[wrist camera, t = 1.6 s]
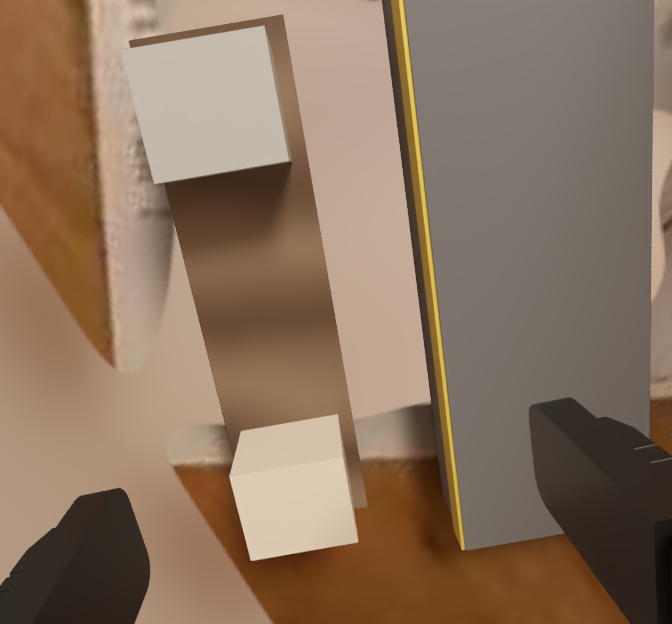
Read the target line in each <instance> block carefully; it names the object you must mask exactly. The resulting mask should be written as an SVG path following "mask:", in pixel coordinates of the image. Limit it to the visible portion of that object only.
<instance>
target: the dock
mask: <svg viewBox="0 0 672 624" xmlns="http://www.w3.org/2000/svg"><path fill="white" fill-rule="evenodd" d="M382 4H383V12H384V20H385V29H386V37H387V45H388V53H389V61H390V69H391V78H392V86H393V94H394V102H395V110H396V119H397V127H398V135H399V142H400V151H401V159H402V168H403V176H404V183H405V192H406V199H407V208H408V216H409V225H410V232H411V241H412V249H413V257H414V265H415V273H416V282H417V289H418V297H419V306H420V314H421V321H422V331H423V339H424V347H425V354H426V363H427V371H428V379H429V387H430V396H431V404H432V412H433V420H434V428H435V436H436V445H437V453H438V461H439V469H440V477H441V485H442V493H443V496H444V498H445V501H446V503H447V506H448V508H449V511H450V513H451V516H452V520H453V529H454V532H455V534H456V537H457V540H458V542H459V545H460V547H461V550H466V551H468V550H473V549H479V548H485V547H491V546H496V545H502V544H508V543H513V542H519V541H525V540H530V539H536V538H542V537H548V536H553V535H559V534H565V533H564V531H563V530H562V529H561V527H560V526H559V525H558V523H557V522H556V520H555V519H554V518H553V516H552V515H551V514H550V512H549V511H548V509H547V508H546V506H545V504H544V503H543V500H542V498H541V496H540V493H539V491H538V487H537V484H536V479H535V473H534V464H533V454H532V445H531V435H530V425H529V408H530V406H531V405H533V404H538V403H542V402H547V401H552V400H557V399H562V398H567V397H571V398H573V399H574V400H576V401H577V402H578V403H579V404H581V405H582V406H583V407H584V408H585V409H587V410H588V411H589V412H590V413H591V414H593V415H594V416H595V417H596V418H601V417H605V416H606V417H609V418H612V419H614V420H617V421H619V422H622V423H624V424H627V425H630V426H632V427H634V428H636V429H637V430H638V431H640V432H641V433H642V434H644V435H645V436H646V437H647V438H649V434H650V333H651V231H652V230H651V229H652V228H651V227H652V223H651V222H652V129H653V127H652V123H653V30H654V0H382Z"/></svg>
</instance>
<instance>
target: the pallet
mask: <svg viewBox="0 0 672 624" xmlns="http://www.w3.org/2000/svg"><path fill="white" fill-rule="evenodd" d="M258 26H265V30H266V33H267V36H268V39H269V42H270V46H271V49H272V53H273V58H274V64H275V69H276V75H277V80H278V86H279V92H280V97H281V103H282V108H283V114H284V119H285V125H286V130H287V136H288V141H289V147H290V152H291V158H292V162H288V163H282V164H276V165H270V166H264V167H259V168H253V169H247V170H241V171H235V172H229V173H224V174H218V175H212V176H206V177H200V178H194V179H188V180H183V181H175V182H167V183H165V187H166V191H167V195H168V199H169V203H170V207H171V211H172V215H173V219H174V223H175V227H176V231H177V235H178V239H179V243H180V246H181V250H182V254H183V258H184V262H185V266H186V270H187V274H188V278H189V282H190V286H191V290H192V294H193V298H194V302H195V306H196V310H197V314H198V318H199V322H200V326H201V330H202V334H203V338H204V342H205V346H206V350H207V354H208V358H209V362H210V366H211V370H212V374H213V378H214V382H215V386H216V390H217V394H218V398H219V402H220V406H221V410H222V414H223V418H224V422H225V426H226V430H227V434H228V438H229V442H230V446H231V450H232V454H233V458H234V457H235V453H236V449H237V445H238V441H239V437H240V433H241V431H244V430H250V429H256V428H261V427H267V426H273V425H279V424H284V423H290V422H296V421H302V420H307V419H313V418H319V417H325V416H331V415H336V414H338V418H339V423H340V429H341V434H342V440H343V446H344V451H345V457H346V462H347V468H348V473H349V479H350V484H351V490H352V497H353V505H354V509H358V508H364V507H368V505H367V499H366V493H365V488H364V482H363V476H362V470H361V464H360V459H359V453H358V447H357V441H356V435H355V430H354V424H353V418H352V412H351V407H350V401H349V395H348V389H347V383H346V377H345V372H344V366H343V360H342V354H341V348H340V343H339V337H338V331H337V325H336V319H335V313H334V308H333V302H332V296H331V290H330V285H329V279H328V274H327V267H326V261H325V256H324V250H323V244H322V238H321V232H320V226H319V222H318V215H317V209H316V203H315V198H314V192H313V186H312V180H311V174H310V168H309V163H308V157H307V151H306V145H305V139H304V134H303V128H302V122H301V116H300V111H299V105H298V99H297V93H296V87H295V81H294V75H293V70H292V64H291V58H290V52H289V46H288V41H287V35H286V29H285V23H284V17H283V15H278V16H272V17H266V18H260V19H254V20H248V21H243V22H237V23H230V24H225V25H219V26H213V27H207V28H201V29H195V30H189V31H184V32H178V33H171V34H165V35H160V36H154V37H148V38H142V39H136V40H130V41H129V44H130V48H135V47H141V46H147V45H152V44H158V43H164V42H170V41H176V40H182V39H188V38H194V37H200V36H205V35H211V34H217V33H223V32H229V31H235V30H241V29H247V28H253V27H258Z"/></svg>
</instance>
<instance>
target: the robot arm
mask: <svg viewBox="0 0 672 624" xmlns="http://www.w3.org/2000/svg"><path fill="white" fill-rule="evenodd" d="M529 425H530V435H531V445H532V454H533V464H534V473H535V479H536V484H537V487H538V491H539V493H540V496H541V498H542V500H543V503H544V504H545V506H546V508H547V509H548V511H549V512H550V514H551V515H552V516H553V518H554V519H555V520H556V522H557V523H558V525H559V526H560V527H561V529H562V530H563V531H564V533H565V534H566V536H567V537H568V538H569V540H570V541H571V542H572V544H573V545H574V547H575V548H576V549H577V551H578V552H579V553H580V555H581V556H582V558H583V559H584V560H585V562H586V563H587V564H588V566H589V567H590V569H591V570H592V571H593V573H594V574H595V576H596V577H597V578H598V580H599V581H600V582H601V584H602V585H603V587H604V588H605V589H606V591H607V592H608V593H609V595H610V596H611V598H612V599H613V600H614V602H615V603H616V604H617V606H618V607H619V609H620V610H621V611H622V613H623V614H624V615H625V617H626V618H627V620H628V621H629V622H630V624H672V456H671V455H670V454H668V453H667V452H666V451H665V450H663V449H662V448H661V447H659V446H655V444H654V442H653V441H651V440H650V439H649V438H647V437H646V436H645V435H644V434H642V433H641V432H640V431H638V430H637V429H636V428H634V427H632V426H630V425H627V424H624V423H622V422H619V421H617V420H614V419H612V418H609V417H606V416H605V417H601V418H596V417H595V416H594V415H593V414H591V413H590V412H589V411H588V410H587V409H585V408H584V407H583V406H582V405H581V404H579V403H578V402H577V401H576V400H574V399H573V398H571V397H567V398H562V399H557V400H552V401H547V402H542V403H538V404H533V405H531V406H530V408H529ZM149 580H150V562H149V556H148V552H147V550H146V546H145V544H144V541H143V538H142V535H141V532H140V529H139V526H138V524H137V521H136V518H135V515H134V512H133V509H132V506H131V503H130V500H129V498H128V496H127V494H126V492H125V491H124V490H123V489H121V488H117V489H111V490H106V491H101V492H97V493H92V494H87V495H82V496H79V497H78V498H77V499H76V500H75V501H74V503H73V504H72V505H71V507H70V508H69V510H68V511H67V512H66V514H65V515H64V517H63V518H62V519H61V521H60V522H59V524H58V525H57V527H56V528H52V529H51V530H50V531H49V532H48V533H46V534H45V535H44V536H43V537H42V538H41V539H40V540H38V541H37V542H36V543H35V544H34V545H32V546H31V547H30V548H29V549H28V550H27V551H26V552H25V554H24V555H23V556H22V557H21V559H20V560H19V561H18V563H17V564H16V565H15V567H14V568H13V569H12V571H11V572H10V577H9V578H6V579H5V580H4V582H3V583H2V584H1V585H0V624H134V623H135V621H136V618H137V615H138V613H139V610H140V608H141V605H142V602H143V600H144V597H145V595H146V592H147V589H148V585H149Z"/></svg>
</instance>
